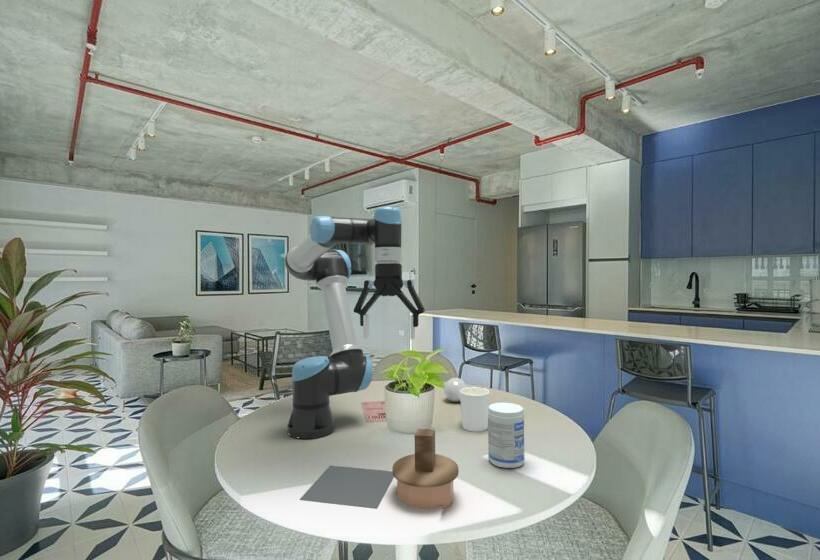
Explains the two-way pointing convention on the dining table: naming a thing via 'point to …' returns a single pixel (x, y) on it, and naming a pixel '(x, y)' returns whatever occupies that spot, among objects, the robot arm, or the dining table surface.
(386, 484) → the mat
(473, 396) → the candle holder
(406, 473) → the lid
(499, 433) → the supplement tub
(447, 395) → the potion bottle
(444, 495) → the bowl
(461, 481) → the dining table surface
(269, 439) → the dining table surface
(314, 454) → the dining table surface
